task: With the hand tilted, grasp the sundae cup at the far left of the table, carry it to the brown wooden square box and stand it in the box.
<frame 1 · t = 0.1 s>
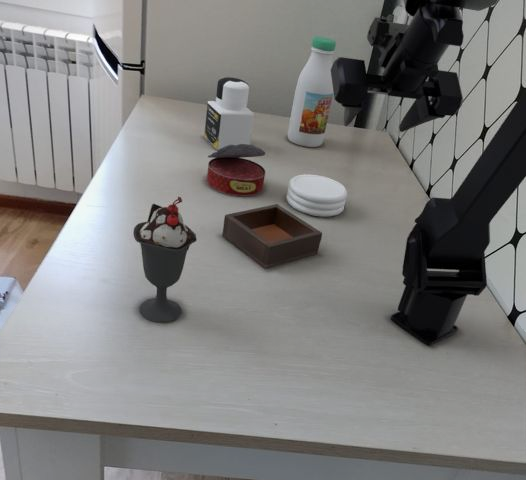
hand: (373, 126, 90), 15 cm above the table, tool tilted 35°, fingers open, 9 cm apart
milk bottle: (304, 142, 126), on the table
medicine bottle: (226, 144, 118), on the table
coaster: (314, 205, 100), on the table
sundae: (160, 312, 69), on the table
canned food: (234, 185, 102), on the table
brown wooden square box: (269, 245, 86), on the table
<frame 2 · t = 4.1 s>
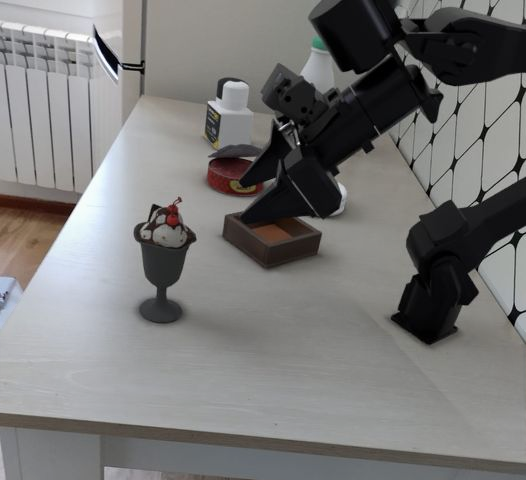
hand: (241, 201, 64), 14 cm above the table, tool tilted 45°, fingers open, 9 cm apart
nothing on the table moved.
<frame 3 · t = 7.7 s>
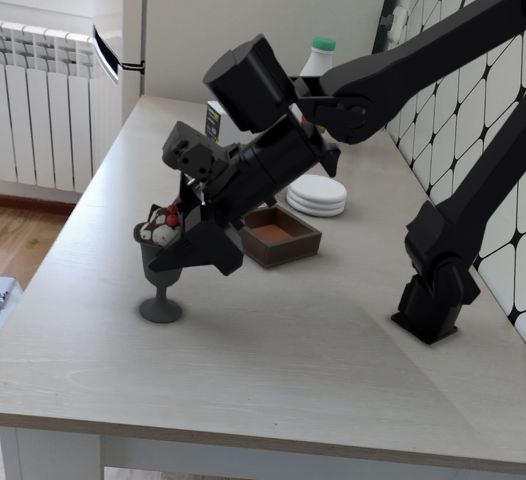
hand: (151, 252, 64), 8 cm above the table, tool tilted 45°, fingers closed on sundae, 6 cm apart
sundae: (160, 312, 69), on the table, touching gripper
everything else where it was.
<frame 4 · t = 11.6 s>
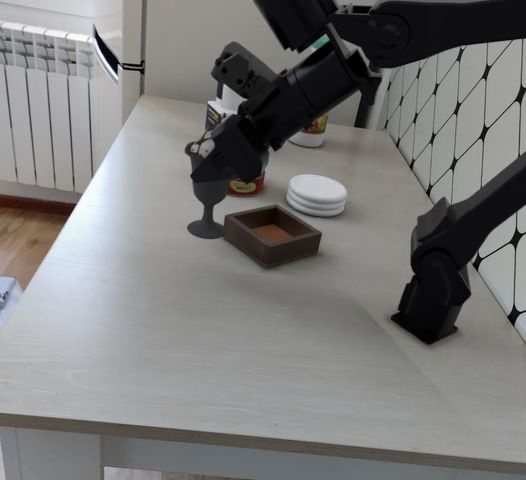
hand: (201, 169, 70), 14 cm above the table, tool tilted 45°, fingers closed on sundae, 6 cm apart
sundae: (206, 231, 74), point 6 cm above the table, touching gripper
everything else where it was.
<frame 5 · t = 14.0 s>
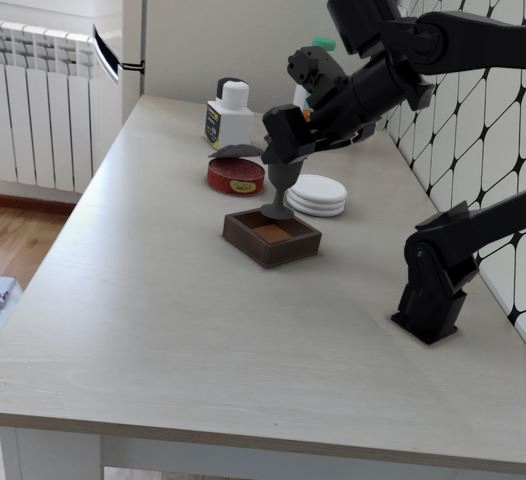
hand: (278, 156, 79), 13 cm above the table, tool tilted 45°, fingers closed on sundae, 6 cm apart
sundae: (276, 213, 83), point 5 cm above the table, touching gripper
everything else where it was.
when the fingers open (8 cm above the table, at t = 15.9 s): sundae stays where it is, resting on brown wooden square box.
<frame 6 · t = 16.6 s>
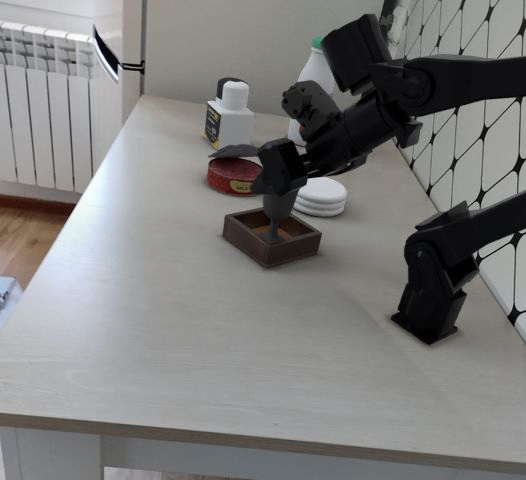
hand: (272, 183, 81), 9 cm above the table, tool tilted 45°, fingers open, 9 cm apart
sundae: (271, 243, 86), point 1 cm above the table, touching brown wooden square box
everything else where it was.
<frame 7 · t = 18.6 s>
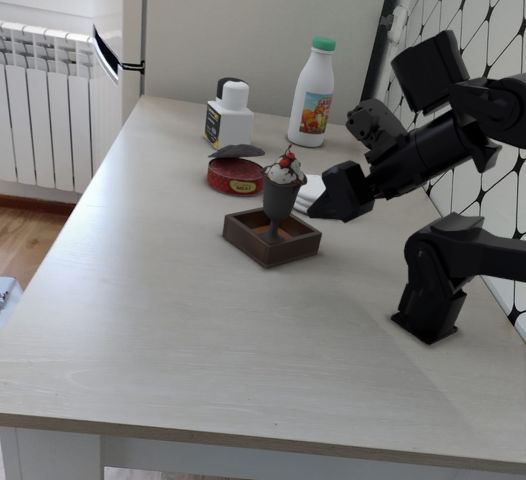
hand: (328, 205, 77), 10 cm above the table, tool tilted 45°, fingers open, 9 cm apart
nothing on the table moved.
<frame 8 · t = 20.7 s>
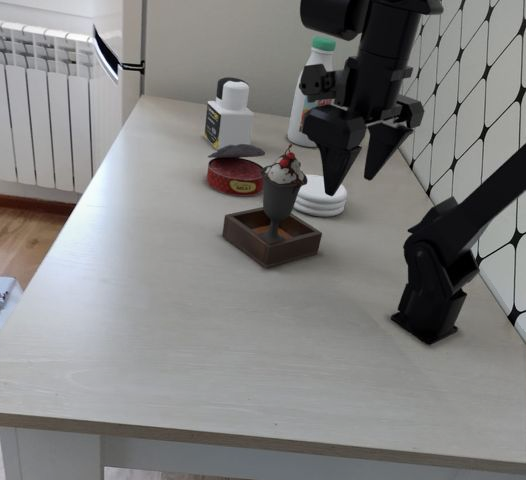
hand: (349, 186, 74), 13 cm above the table, tool pointing down, fingers open, 9 cm apart
nothing on the table moved.
at the end: sundae 0.2 cm off-centre in the brown wooden square box, point 0.5 cm above the brown wooden square box's base; sundae tilted 0°; the gripper is holding nothing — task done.
